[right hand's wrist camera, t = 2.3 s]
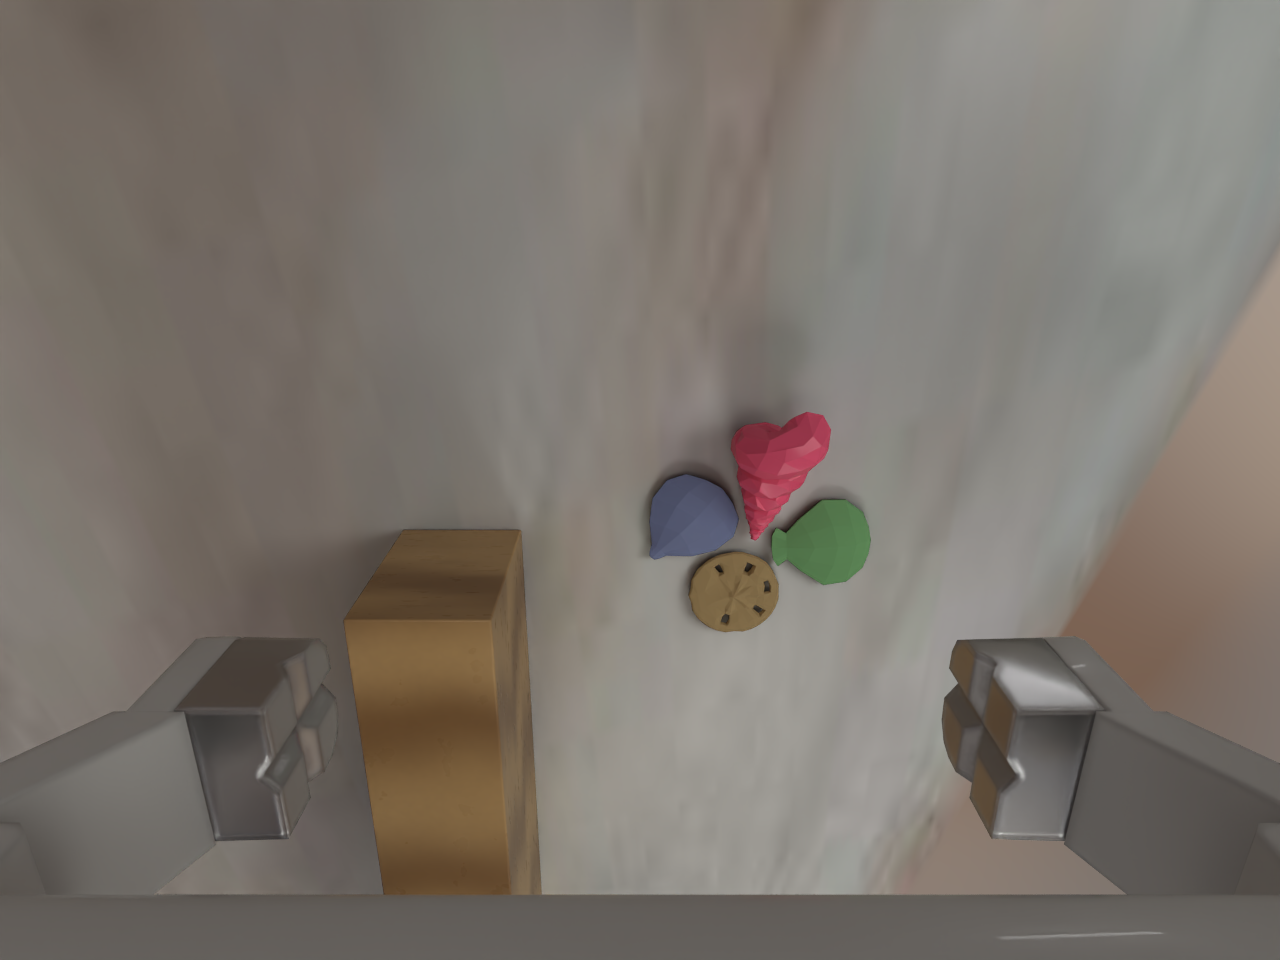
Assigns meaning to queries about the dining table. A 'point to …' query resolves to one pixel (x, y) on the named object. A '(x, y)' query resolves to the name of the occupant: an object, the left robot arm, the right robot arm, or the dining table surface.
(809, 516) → the toy pieces
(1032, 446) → the dining table surface
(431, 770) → the box
